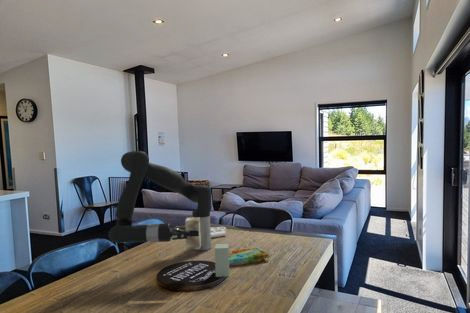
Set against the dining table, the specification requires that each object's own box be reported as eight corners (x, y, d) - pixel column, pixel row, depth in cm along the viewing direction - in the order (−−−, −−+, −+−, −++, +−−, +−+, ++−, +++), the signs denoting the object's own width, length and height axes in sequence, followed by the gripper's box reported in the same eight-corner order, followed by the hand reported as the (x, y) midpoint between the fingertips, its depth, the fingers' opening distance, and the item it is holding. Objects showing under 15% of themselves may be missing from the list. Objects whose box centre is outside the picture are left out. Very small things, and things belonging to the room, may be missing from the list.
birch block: (186, 249, 140) (185, 220, 140) (188, 245, 146) (187, 217, 145) (199, 249, 140) (198, 220, 140) (200, 244, 146) (199, 217, 145)
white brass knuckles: (201, 240, 194) (194, 234, 208) (231, 236, 201) (222, 230, 215) (201, 234, 194) (194, 229, 208) (230, 230, 201) (222, 225, 215)
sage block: (215, 277, 140) (214, 248, 139) (216, 272, 145) (215, 244, 144) (229, 276, 140) (228, 248, 139) (229, 271, 145) (228, 243, 144)
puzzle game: (219, 251, 161) (258, 245, 167) (219, 261, 161) (258, 254, 167) (227, 259, 150) (268, 252, 156) (227, 269, 150) (268, 262, 156)
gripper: (154, 228, 135) (197, 227, 136) (162, 219, 150) (200, 218, 150) (155, 247, 136) (198, 245, 136) (163, 236, 150) (201, 235, 150)
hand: (199, 231), depth 143 cm, fingers closed on birch block, 5 cm apart
